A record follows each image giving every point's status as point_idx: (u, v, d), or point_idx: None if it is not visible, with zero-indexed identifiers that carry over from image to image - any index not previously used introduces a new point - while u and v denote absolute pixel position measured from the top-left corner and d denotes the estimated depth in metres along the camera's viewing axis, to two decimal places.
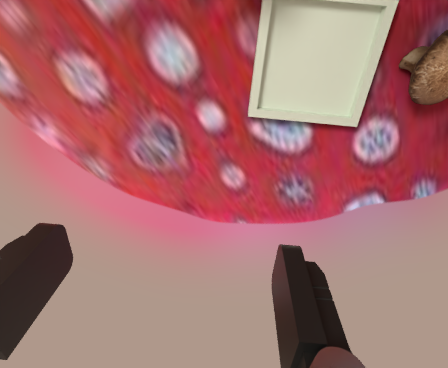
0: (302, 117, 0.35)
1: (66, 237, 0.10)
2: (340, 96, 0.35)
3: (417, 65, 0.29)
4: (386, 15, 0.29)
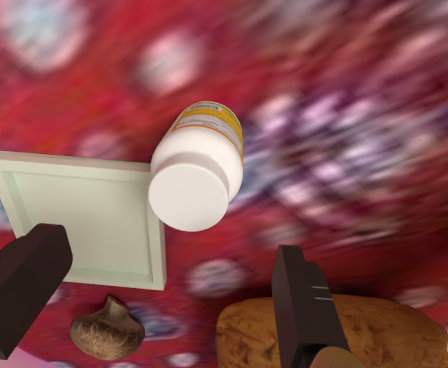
0: (16, 226, 0.26)
1: (66, 237, 0.10)
2: None
3: (98, 325, 0.28)
4: (145, 284, 0.29)
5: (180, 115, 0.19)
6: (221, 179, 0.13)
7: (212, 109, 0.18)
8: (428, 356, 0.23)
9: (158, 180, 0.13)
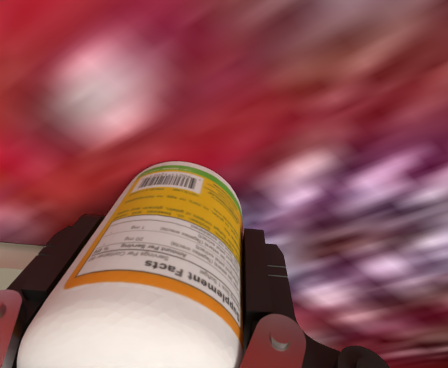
0: None
1: None
2: None
3: None
4: None
5: (122, 197, 0.10)
6: None
7: (182, 191, 0.09)
8: None
9: None
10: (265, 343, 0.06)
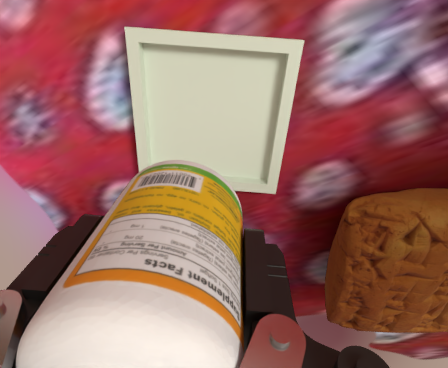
0: (139, 115, 0.25)
1: None
2: (173, 157, 0.28)
3: None
4: (258, 186, 0.28)
5: (121, 196, 0.10)
6: None
7: (182, 190, 0.09)
8: None
9: None
10: (265, 343, 0.06)
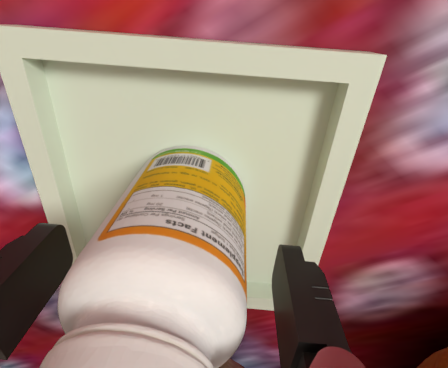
0: (49, 193, 0.13)
1: (66, 237, 0.10)
2: None
3: None
4: None
5: (139, 175, 0.11)
6: None
7: (193, 169, 0.10)
8: None
9: None
10: None
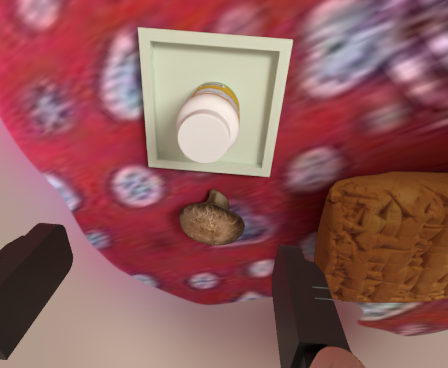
0: (148, 105, 0.28)
1: (66, 237, 0.10)
2: None
3: (213, 206, 0.31)
4: (254, 169, 0.31)
5: (194, 90, 0.26)
6: (225, 125, 0.20)
7: (218, 86, 0.26)
8: None
9: (185, 125, 0.20)
10: None
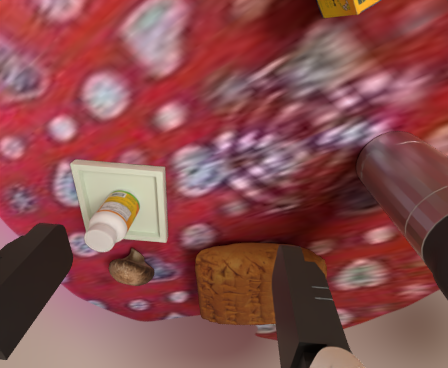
0: (82, 202, 0.45)
1: (66, 237, 0.10)
2: None
3: (127, 262, 0.47)
4: (155, 238, 0.48)
5: (107, 198, 0.43)
6: (109, 234, 0.37)
7: (120, 197, 0.42)
8: None
9: (87, 234, 0.37)
10: None
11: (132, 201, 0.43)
